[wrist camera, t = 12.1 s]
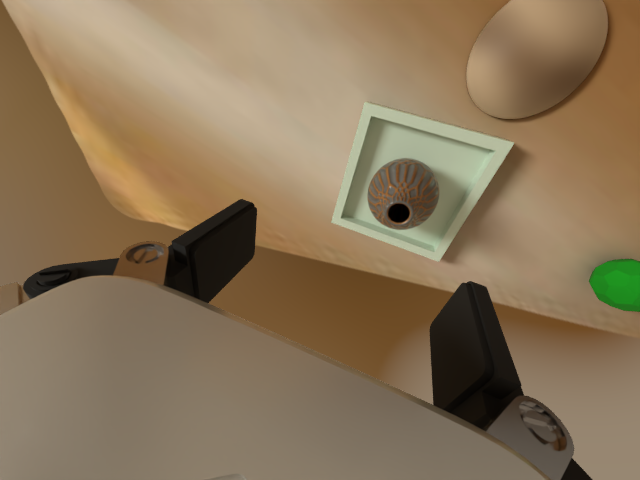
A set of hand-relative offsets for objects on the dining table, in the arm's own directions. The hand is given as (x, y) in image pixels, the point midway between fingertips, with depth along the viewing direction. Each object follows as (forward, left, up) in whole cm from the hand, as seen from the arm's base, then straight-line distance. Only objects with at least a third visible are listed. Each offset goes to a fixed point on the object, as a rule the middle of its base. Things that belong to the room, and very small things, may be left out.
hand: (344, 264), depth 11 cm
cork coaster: (-11, +8, -21) cm, 25 cm away
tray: (+2, +3, -21) cm, 21 cm away
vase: (+2, +2, -20) cm, 21 cm away
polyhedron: (+4, +26, -21) cm, 33 cm away
